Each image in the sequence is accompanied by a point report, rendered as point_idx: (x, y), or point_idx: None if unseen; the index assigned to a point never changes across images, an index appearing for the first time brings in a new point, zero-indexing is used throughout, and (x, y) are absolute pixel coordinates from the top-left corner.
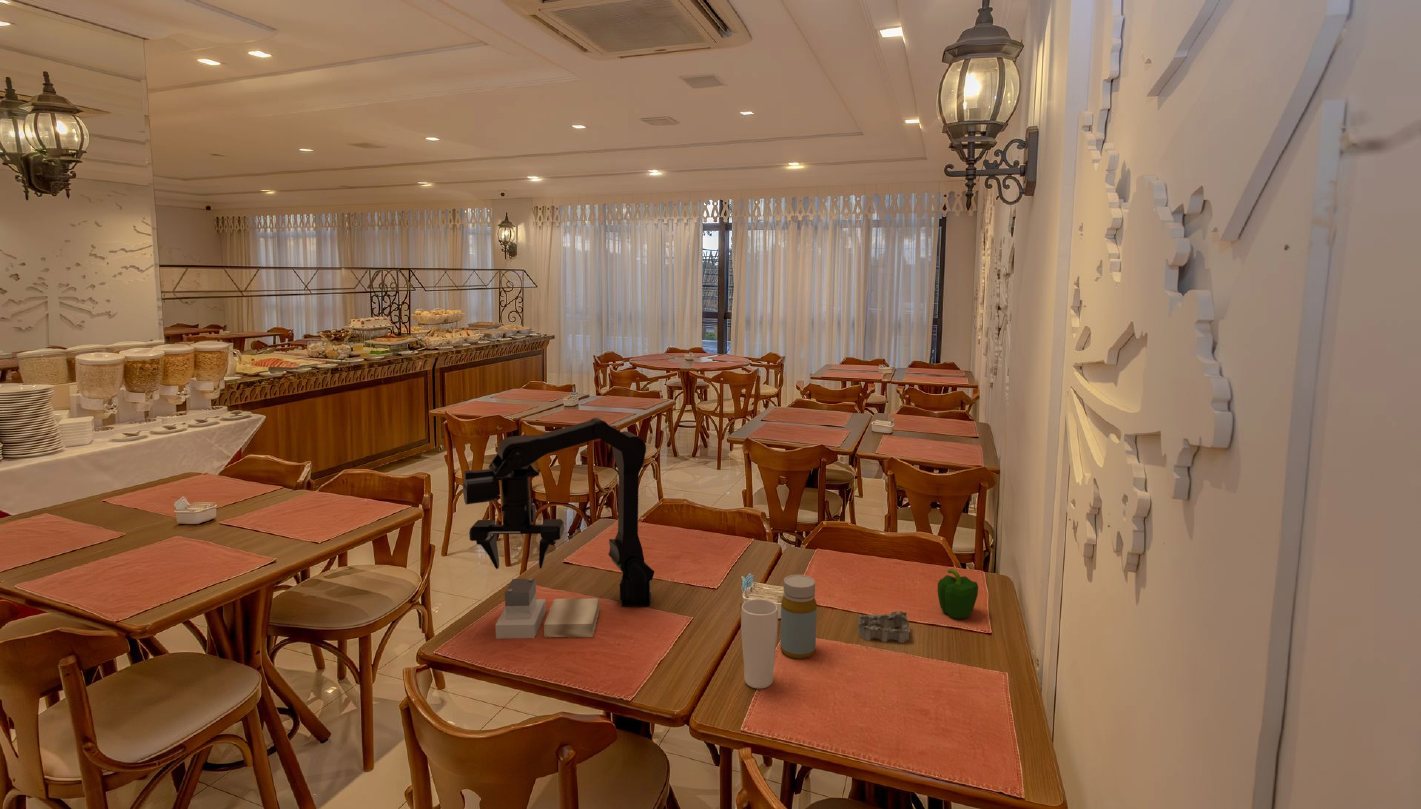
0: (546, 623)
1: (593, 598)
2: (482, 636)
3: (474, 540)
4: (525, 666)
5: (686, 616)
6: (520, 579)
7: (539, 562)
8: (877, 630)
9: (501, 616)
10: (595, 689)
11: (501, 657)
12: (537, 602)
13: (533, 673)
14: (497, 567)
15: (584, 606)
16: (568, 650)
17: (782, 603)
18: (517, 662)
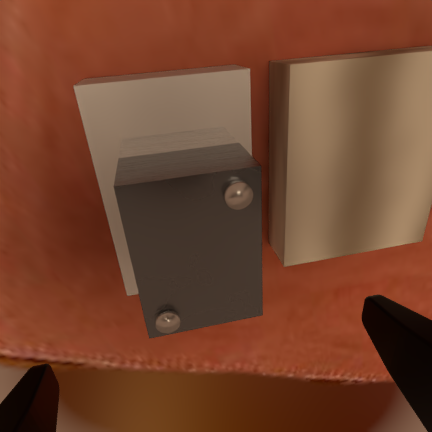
0: (290, 259)
1: None
2: (77, 261)
3: None
4: (251, 351)
5: None
6: (169, 186)
7: (396, 380)
8: None
9: (118, 242)
10: (385, 376)
11: (184, 335)
12: (222, 108)
13: (273, 365)
14: (57, 404)
15: (410, 129)
16: (335, 283)
17: None
18: (229, 343)
